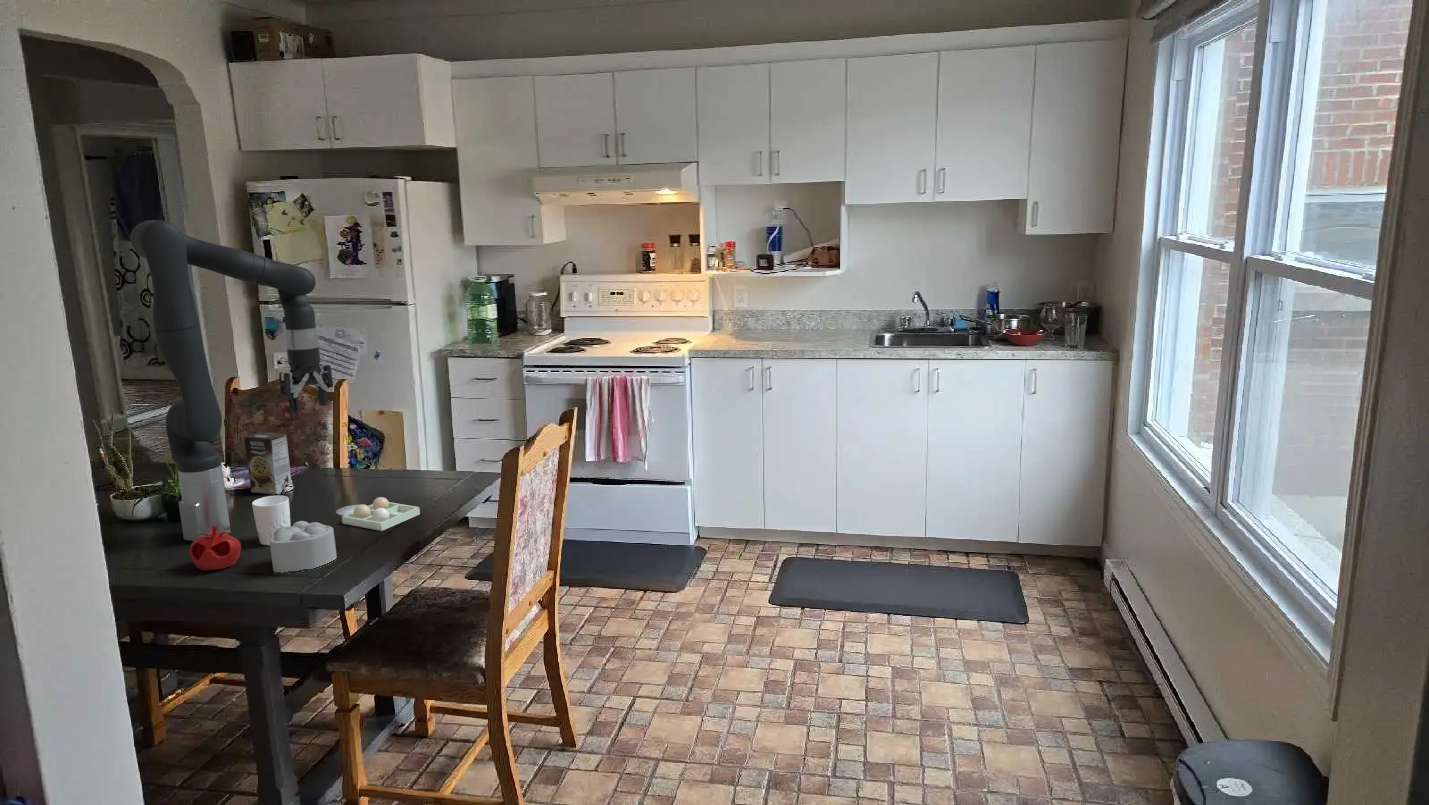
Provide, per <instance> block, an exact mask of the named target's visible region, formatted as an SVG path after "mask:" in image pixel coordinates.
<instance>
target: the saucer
mask: <svg viewBox="0 0 1429 805" xmlns="http://www.w3.org/2000/svg"><path fill="white" fill-rule="evenodd" d="M358 505H359V504H353V505H352V504H351V505H347V506H344V507H343V506H342V507H340V508H338V509H336V510H335V513H336V514H337V515H339V516H344V515H347V514H349V513H352V512H354V509H355V508H356V507H357V506H358Z"/></svg>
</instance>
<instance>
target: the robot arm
mask: <svg viewBox="0 0 1429 805" xmlns="http://www.w3.org/2000/svg"><path fill="white" fill-rule="evenodd" d="M130 243H131V247H132V248H133V250H134V251H135V252H136V254H138V255H139V256H140V257H142V258H144V259H145V260H146V263H147V266H148V270H149V273H150V276H151V281H152V285H153V301H152V326H153V330H154V331H153V333H154V336H155V341H156V345H157V349H158V351H159V353H160V354H159V355H160V356H161V358H162V360H163V362H164V363H165V365H166V366H167V368H168V370H169V371H170V372H171V373H172V375H173V377H174V379H175V380H176V382H177V384H178V387H179V390H180V393H181V397H182V399H181V400H179V401H177V402H175V403H173V404H172V405H171V406H170V407H169V409H168V411H167V413H166V416H165V429H166V435H167V440H168V444H169V449H170V454H171V457H172V459H173V460H174V462H175V464H176V466H177V472H178V473H177V474H178V480H179V489H180V494H181V500H180V501H178V507H179V515H180V521H181V522H180V523H181V527H182V528H181V529H182V534H183V539H184V540H186V541H190V542H194V541H195V540H196V539H198V538H201V537H202V536H205V535H199V534H202V533H205V534H209V535H210V531H209V530H210V529H212V526H216V525H217V533H218V532H220V531H222V530H223V529H227V528H228V529H227V530H224V531H222V532H228V533H229V532H230V533H231V524H230V517H229V509H228V508H229V507H228V503H227V495H226V488H225V482H224V481H225V480H224V474H223V466H222V460H221V459H222V458H221V454H220V453H219V451H217V450H216V449H215V448H214V447H213V446H212V445H211V444H210V441H212V440H213V441H214V439H216V438H217V437H218V435H219V434H220V432H221V430H222V427H223V426H222V425H223V418H222V412H221V409H220V405H219V403H218V399H217V396H216V394H215V393H216V392H215V390H214V386H213V383H212V380H211V376H210V371H209V366H208V361H207V357H206V353H205V352H206V351H205V347H204V341H203V340H204V339H203V334H202V330H201V324H200V320H199V317H198V312H197V308H196V303H195V299H194V296H193V291H192V287H191V282H190V277H189V266H188V265H190V266H195V267H197V268H202V269H204V270H207V271H211V272H214V273H217V274H220V275H223V276H226V277H230V278H233V279H236V280H239V281H243V282H246V283H250V284H254V285H256V286H257V285H258V286H264V287H270V288H273V289H276V290H277V294H278V297H279V300H280V304H281V307H282V310H283V314H284V315H283V317H284V325H285V345H286V354H287V364H288V366H289V368H290V369H289V371H288V372H279V375H278V377H279V378H278V379H279V380H278V381H279V396H281V397H286V398H287V399H288V408H289V410H290V411H291V412H292V413H299V412H300V403H299V397H298V396H299V393H300V392H301V391H302V390H303V389H304V387H308V386H314V387H315V388H316V389H317V390H318V391H317V400H318V406H322V407H325V406H327V405H328V400H329V399H328V390H329V389H330V388H333V387H334V381H333V374H332V368H331V365H328V364H321V355H320V354H321V352H320V345H319V344H320V343H319V336H318V331H317V324H316V315H315V310H314V308H313V306H312V305H311V304H310V303H309V301H308V296H307V295H309V294H310V293H312V292H313V291H314V289H315V288H316V283H317V280H316V277H315V275H314V274H313V272H311V270H310V269H308V268H306V267H303V266H299V265H296V264H290V263H288V262H287V263H286V262H282V261H278V260H274V259H271V258H268V257H265V256H263V255H261V254H260V255H259V254H257V253H253V252H250V251H246V250H243V249H239V248H234V247H229V246H226V245H221V244H216V243H212V242H208V241H204V240H202V239H201V240H200V239H199V238H195V237H192V236H190V235H187V234H185V233H183V232H182V230H181V229H180V228H179V227H178V226H177V225H175V224H174V223H172V222H170V221H166V220H158V219H149V220H144V221H142V222H140V223H138V224H136V225H135V226H134V227H133V229H132V231H131V233H130ZM320 364H321V365H320ZM320 375H321V376H320ZM212 530H213V529H212ZM222 532H221V533H222ZM230 533H229V534H230ZM229 534H227V535H229ZM198 535H199V536H198Z"/></svg>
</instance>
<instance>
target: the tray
mask: <svg viewBox="0 0 1429 805" xmlns="http://www.w3.org/2000/svg"><path fill="white" fill-rule="evenodd" d="M357 505H358V506H357V507H356V508H355V509H354V512H352V513H349V514H347V515H341V521H342V522H341V524H344V525H348V526H353V527H360V528H365V529H370V530H374V531H375V530H376V531H380V532H381V531H382V532H383V531H385V530H387V529H390V528H391V527H393V526H396V525H399V524H400V523H403V522H405V521H407V520H410V519H412V518H414V517H416V518H415V520H416V519H417V520H418V517H417V516H418V515H420V514H421V510H420V506H415V505H408V504H401V503H396V502H391V501H389V500H388V499H387V498H386V497H382V496H378V497H376V498H375V499H374V500H373V501H372V504H369V505H366V504H357ZM377 508H385V509H387V510H388V512H389V515H390V516H389V519H388V520H386V521H383V522H376V521H374V520H373V518H372V514H373V512H374V511H375V510H376V509H377ZM408 522H409V521H408ZM408 522H406V523H408ZM398 527H400V525H399V526H397V528H398Z"/></svg>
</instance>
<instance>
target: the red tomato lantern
mask: <svg viewBox="0 0 1429 805" xmlns="http://www.w3.org/2000/svg"><path fill="white" fill-rule="evenodd" d="M212 529H213V530H212ZM212 529H210V530H209V531H210V535H209V534H205V533H202V534H199V535H205V536H202V537H201V538H198V539H196V540H195V541H192V542H191V545H190V547H189V554H190V558H191V559H192V562H193V563H194V565H195V566H196V568H197V569H199V570H201V571H217V570H218V569H219V570H224V569H227V568H229V567H232V566H234V565H235V564H236V563H237V560H238V559H239V558H240V555H241V551H242V543H241V542H240V541H239V540H238V539H237V538H236V537H234V536H232V535H230V533H231V532H229V533H228V532H222V531H224V530H227V529H228V528H227V529H223V530H222V531H220V532H218V533H217V525H216V526H212ZM221 532H222V533H221ZM227 534H228V535H227ZM199 535H198V536H199Z"/></svg>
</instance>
